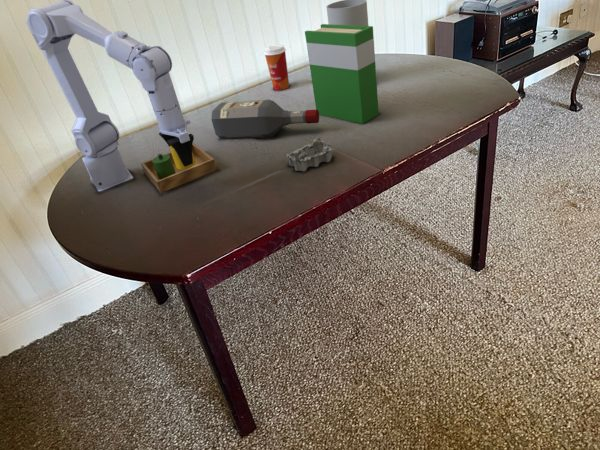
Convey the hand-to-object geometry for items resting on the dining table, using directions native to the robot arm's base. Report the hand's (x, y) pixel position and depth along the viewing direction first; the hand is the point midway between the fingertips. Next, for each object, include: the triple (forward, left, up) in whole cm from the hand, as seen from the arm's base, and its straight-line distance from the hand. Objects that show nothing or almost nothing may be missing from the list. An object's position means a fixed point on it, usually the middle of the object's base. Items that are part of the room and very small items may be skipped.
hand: (184, 161), depth 110 cm
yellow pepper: (0, 0, -1) cm, 1 cm away
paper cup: (+52, +45, -8) cm, 69 cm away
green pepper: (-3, +11, -7) cm, 14 cm away
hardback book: (+52, +6, -8) cm, 53 cm away
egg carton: (+28, -11, -8) cm, 31 cm away
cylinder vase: (+70, +26, -8) cm, 75 cm away
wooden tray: (0, +11, -8) cm, 14 cm away
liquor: (+19, +25, -3) cm, 31 cm away
